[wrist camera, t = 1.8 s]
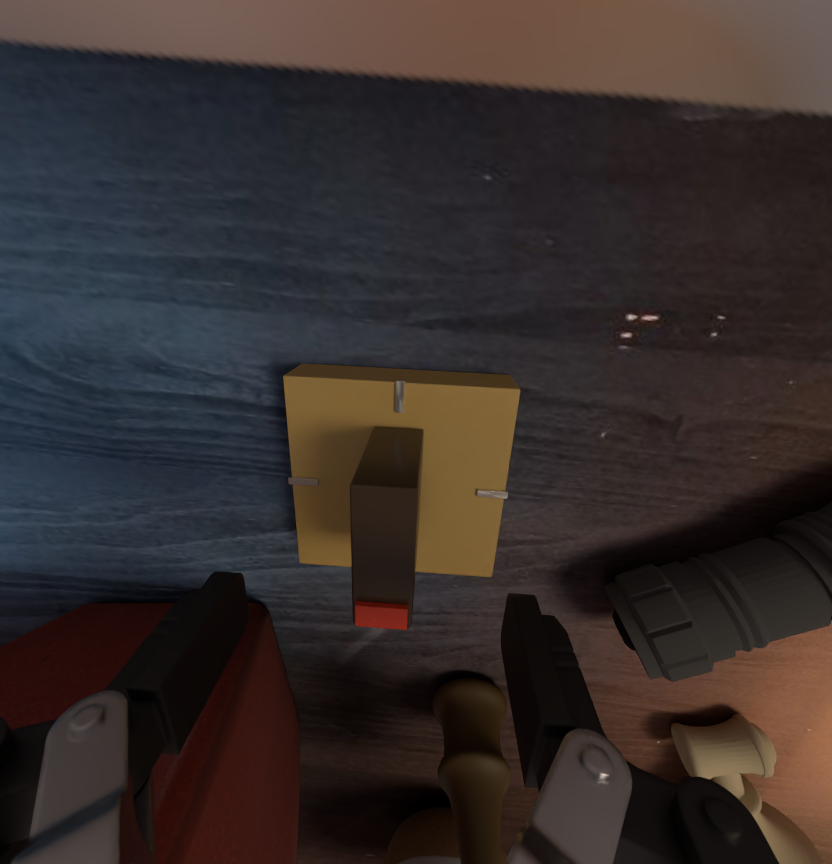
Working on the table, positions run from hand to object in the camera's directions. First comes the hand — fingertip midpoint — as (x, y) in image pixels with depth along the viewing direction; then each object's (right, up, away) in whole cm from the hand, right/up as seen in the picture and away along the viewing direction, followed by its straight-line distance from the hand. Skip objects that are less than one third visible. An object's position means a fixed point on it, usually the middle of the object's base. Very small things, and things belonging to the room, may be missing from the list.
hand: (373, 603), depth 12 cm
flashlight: (+19, -1, +10) cm, 22 cm away
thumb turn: (0, +3, +6) cm, 7 cm away
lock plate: (+1, +4, +9) cm, 9 cm away
